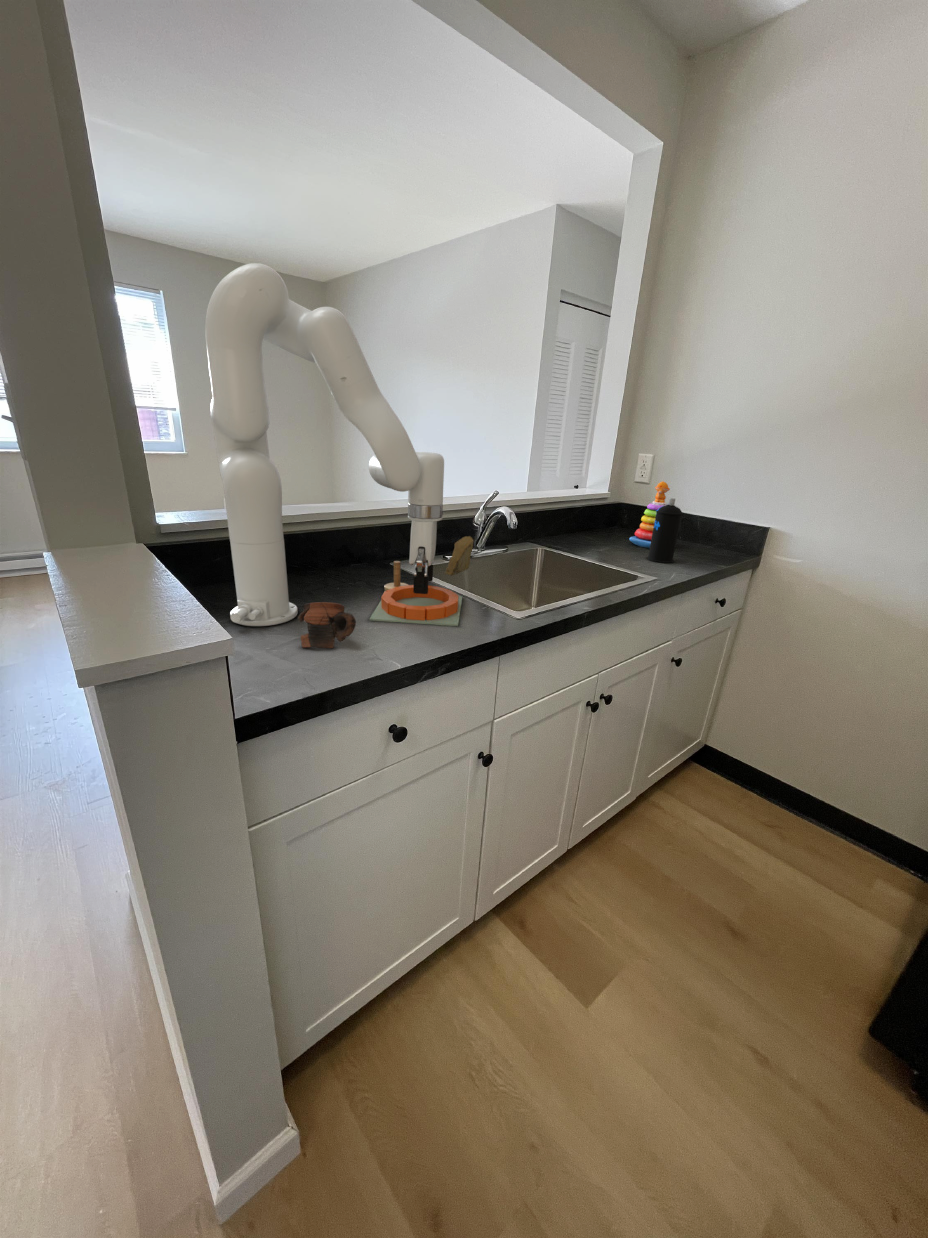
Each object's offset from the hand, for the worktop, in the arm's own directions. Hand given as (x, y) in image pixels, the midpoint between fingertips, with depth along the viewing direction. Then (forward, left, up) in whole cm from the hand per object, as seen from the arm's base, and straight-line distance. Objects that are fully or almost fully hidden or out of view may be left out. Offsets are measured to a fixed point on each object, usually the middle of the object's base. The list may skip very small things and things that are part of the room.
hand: (423, 586), depth 114 cm
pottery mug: (-27, +14, -3) cm, 31 cm away
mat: (-7, 0, -3) cm, 8 cm away
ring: (-7, 0, -2) cm, 8 cm away
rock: (+25, -6, -3) cm, 26 cm away
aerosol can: (+54, -72, -3) cm, 90 cm away
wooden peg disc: (+5, +7, -3) cm, 9 cm away
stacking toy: (+77, -76, -3) cm, 108 cm away
